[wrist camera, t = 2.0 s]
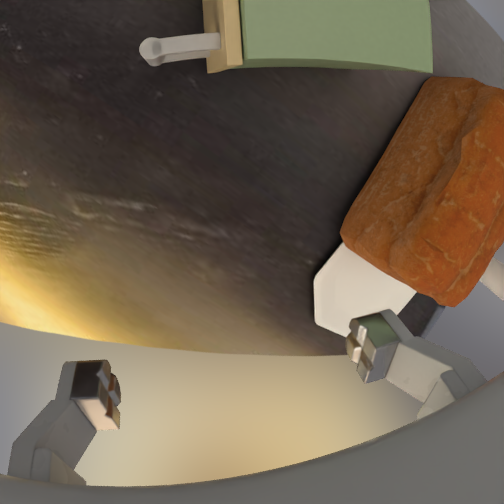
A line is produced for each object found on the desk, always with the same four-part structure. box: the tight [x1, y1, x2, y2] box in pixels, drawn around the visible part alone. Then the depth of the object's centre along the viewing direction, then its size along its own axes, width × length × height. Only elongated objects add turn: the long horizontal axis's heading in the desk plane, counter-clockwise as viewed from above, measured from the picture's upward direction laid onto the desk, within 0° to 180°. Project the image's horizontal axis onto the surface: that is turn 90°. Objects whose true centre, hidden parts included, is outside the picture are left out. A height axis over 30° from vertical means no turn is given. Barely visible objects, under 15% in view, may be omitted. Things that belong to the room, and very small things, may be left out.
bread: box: [340, 77, 504, 307], centre depth 31 cm, size 14×27×15 cm, turn 147°
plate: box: [313, 241, 417, 337], centre depth 45 cm, size 20×20×2 cm
